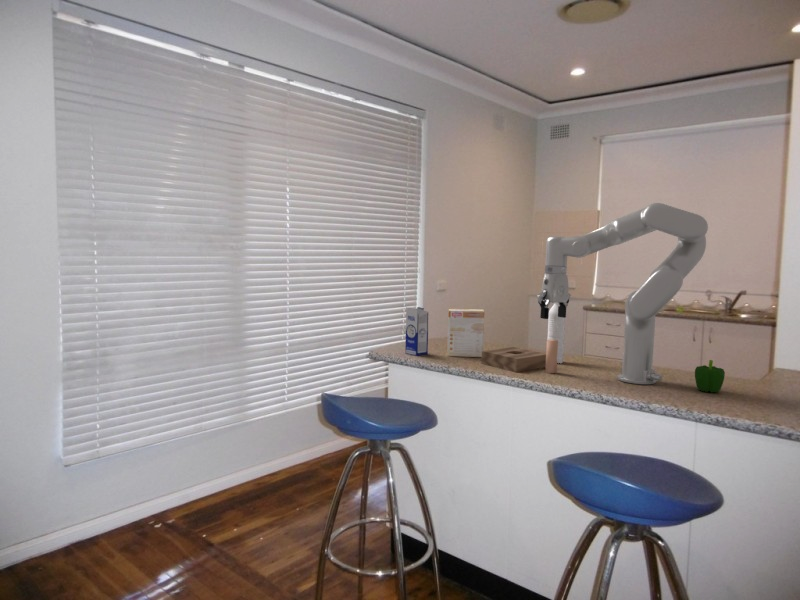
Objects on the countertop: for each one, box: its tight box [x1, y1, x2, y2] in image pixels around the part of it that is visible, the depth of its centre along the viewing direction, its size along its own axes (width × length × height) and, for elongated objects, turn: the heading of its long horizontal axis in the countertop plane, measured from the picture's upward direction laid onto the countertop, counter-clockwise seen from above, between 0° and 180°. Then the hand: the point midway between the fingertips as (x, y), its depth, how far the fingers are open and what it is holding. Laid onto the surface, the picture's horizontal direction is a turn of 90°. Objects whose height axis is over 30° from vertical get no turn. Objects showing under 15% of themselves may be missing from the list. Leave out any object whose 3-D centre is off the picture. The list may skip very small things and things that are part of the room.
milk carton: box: [404, 306, 430, 357], centre depth 229 cm, size 7×7×20 cm
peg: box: [544, 339, 558, 374], centre depth 198 cm, size 4×4×12 cm
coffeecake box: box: [447, 308, 485, 358], centre depth 228 cm, size 15×7×20 cm, turn 84°
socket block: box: [480, 346, 546, 373], centre depth 210 cm, size 18×18×5 cm
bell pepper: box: [694, 359, 726, 393], centre depth 175 cm, size 8×8×10 cm
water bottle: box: [546, 303, 566, 364], centre depth 218 cm, size 9×6×25 cm
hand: (553, 317), depth 197 cm, fingers open, 9 cm apart
